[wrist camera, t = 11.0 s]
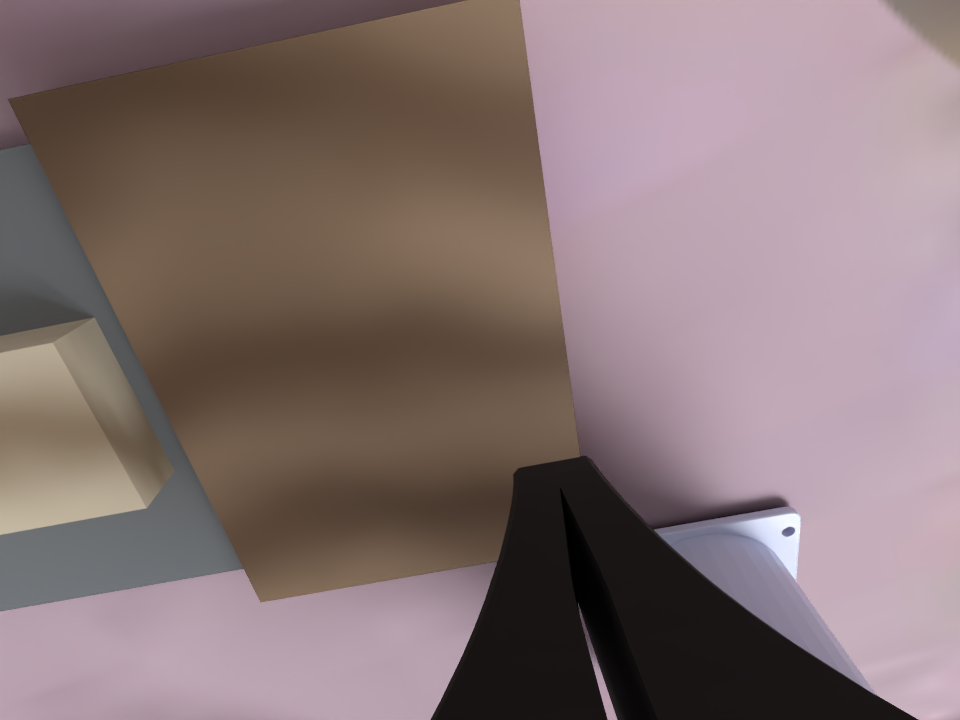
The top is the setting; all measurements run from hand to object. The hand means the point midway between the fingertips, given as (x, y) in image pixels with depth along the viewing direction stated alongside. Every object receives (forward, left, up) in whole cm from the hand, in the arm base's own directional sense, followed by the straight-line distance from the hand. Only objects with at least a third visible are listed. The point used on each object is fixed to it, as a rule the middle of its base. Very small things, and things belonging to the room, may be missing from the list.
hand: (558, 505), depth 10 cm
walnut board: (0, +5, -9) cm, 11 cm away
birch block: (0, +18, -9) cm, 20 cm away
